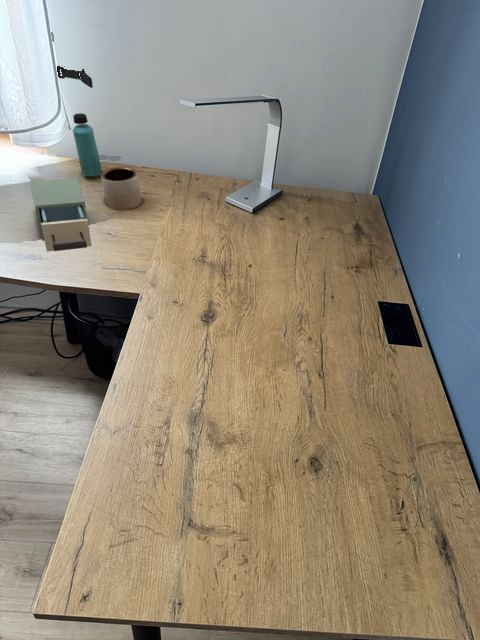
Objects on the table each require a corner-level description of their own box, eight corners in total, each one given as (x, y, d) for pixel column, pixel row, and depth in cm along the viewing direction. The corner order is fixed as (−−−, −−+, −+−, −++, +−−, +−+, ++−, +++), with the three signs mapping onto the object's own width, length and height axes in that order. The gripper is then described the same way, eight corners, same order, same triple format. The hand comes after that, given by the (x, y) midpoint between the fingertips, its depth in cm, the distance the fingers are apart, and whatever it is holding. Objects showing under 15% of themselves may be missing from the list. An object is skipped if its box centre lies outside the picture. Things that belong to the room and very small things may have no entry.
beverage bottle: (105, 178, 169) (93, 115, 156) (86, 182, 166) (72, 119, 153) (98, 171, 173) (86, 109, 160) (79, 175, 170) (65, 113, 157)
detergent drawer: (96, 262, 133) (92, 233, 127) (50, 268, 129) (44, 238, 123) (84, 225, 146) (80, 196, 140) (42, 229, 142) (36, 200, 136)
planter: (124, 192, 164) (120, 163, 158) (148, 202, 160) (145, 173, 153) (99, 204, 157) (92, 175, 151) (123, 215, 153) (118, 185, 146)
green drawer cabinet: (89, 236, 143) (84, 201, 136) (42, 241, 139) (34, 205, 132) (81, 211, 153) (76, 178, 146) (37, 215, 148) (29, 181, 141)
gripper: (78, 72, 175) (108, 92, 164) (6, 83, 162) (33, 105, 152) (75, 48, 170) (106, 67, 159) (-1, 57, 157) (27, 78, 146)
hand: (70, 86), depth 155 cm, fingers open, 13 cm apart
